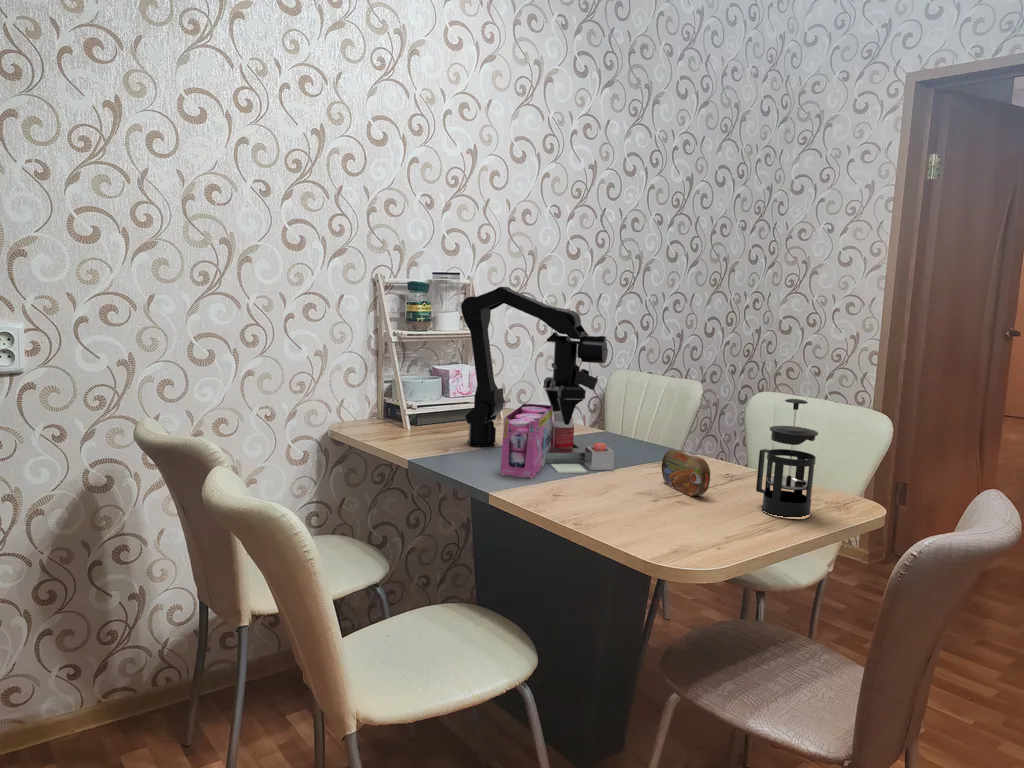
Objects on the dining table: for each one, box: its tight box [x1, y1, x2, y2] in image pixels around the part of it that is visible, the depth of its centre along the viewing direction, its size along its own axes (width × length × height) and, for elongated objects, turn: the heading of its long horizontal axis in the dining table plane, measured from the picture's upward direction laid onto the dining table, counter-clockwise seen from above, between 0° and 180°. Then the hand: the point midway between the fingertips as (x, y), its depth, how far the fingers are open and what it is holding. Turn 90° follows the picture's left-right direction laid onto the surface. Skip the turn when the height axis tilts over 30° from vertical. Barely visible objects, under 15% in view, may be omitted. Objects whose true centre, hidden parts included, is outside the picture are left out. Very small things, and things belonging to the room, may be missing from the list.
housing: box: [584, 445, 615, 471], centre depth 173 cm, size 6×6×4 cm
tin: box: [661, 449, 711, 497], centre depth 156 cm, size 15×3×8 cm, turn 21°
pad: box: [550, 463, 588, 474], centre depth 171 cm, size 7×7×1 cm
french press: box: [755, 398, 819, 517], centre depth 143 cm, size 12×9×23 cm
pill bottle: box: [551, 411, 575, 448], centre depth 184 cm, size 6×6×11 cm
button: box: [593, 442, 607, 451], centre depth 173 cm, size 3×3×3 cm
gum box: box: [500, 403, 554, 479], centre depth 172 cm, size 24×8×14 cm, turn 167°
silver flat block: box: [545, 440, 594, 464], centre depth 183 cm, size 16×13×2 cm
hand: (561, 420), depth 184 cm, fingers open, 9 cm apart
